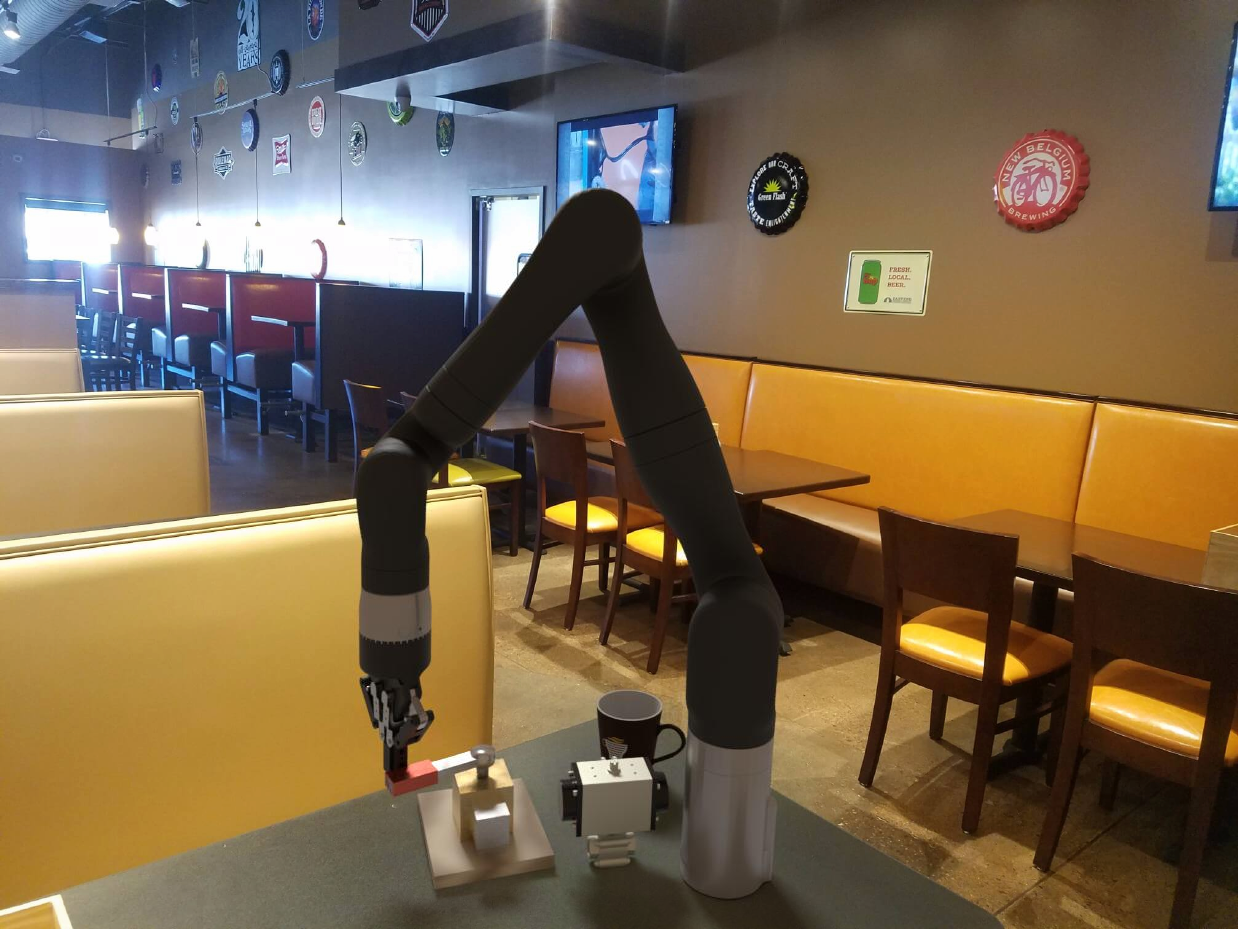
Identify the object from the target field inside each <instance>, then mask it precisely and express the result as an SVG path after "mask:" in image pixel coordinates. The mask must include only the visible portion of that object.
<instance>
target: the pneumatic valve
mask: <svg viewBox="0 0 1238 929" xmlns="http://www.w3.org/2000/svg"><path fill="white" fill-rule="evenodd" d="M567 776H568V777H569V778H560V779H558V783H557V803H558V804H557V805H558V806H557V808H558V814H559V815H558V816H559V820H560V822H562V823H565V822H571V826H572V829H573V830H574V834H575V838H582V837H586V853H587V854H586V855H587V858H588V859H589V860H595V861H594V862H593V865H594V866H595V867H596V868H598V869H605V868H615V867H617V868H618V867H626V866H628V864H630V863H631V858H630V857H629V856H634V855H635V854H636V853H637V840H636V836H635V833H637V832H647V831H648V832H649V831H655V830H657V829H656V825H657V822H659V815H657V814H665V813H668V810H669V806H670V805H669V804H670V793H669V792H670V791H669V785H668V779H667V777H666V774H665V772H664V771H655V769H654V766H653V767H652V765H651V762H650V760H649V758H648V757H640V758H627V759H617V757H615V756H614V757H612V758H611V760H606V759H605V758H604V757H602V758H601V757H599V759H598V760H590V761H588V760H587V761H577V762H576V761H575V762H574V761H573V762H571V763H570V771H567ZM634 832H635V833H634Z"/></svg>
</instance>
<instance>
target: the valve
mask: <svg viewBox="0 0 1238 929" xmlns="http://www.w3.org/2000/svg"><path fill="white" fill-rule="evenodd" d="M451 777H452V779H451V780H452V781H451V782H452V784H451V785H452V786H451V787H452V788H451V789H452V813H453V817H454V820H455V824H456V828H457V832H458V835H459V839H460V843H461V842H467V841H473V840H474V843H475V846H476V850H477V853H478V856H479V858H480V857H486V856H492V855H497V854H503V853H506V845H508V844H509V840H510V834H513V814H514V785H513V782H512V780H511V779H512V777H511V775H510V773H509V770H508V768H507V765H506V763H505V760H504V758H499V759H497V758H495V763H494V765H492V766H491V767H488V768H484V769H479V768H473V769H470V770H467V771H463V772H460V773H457V774H454V775H451Z"/></svg>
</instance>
